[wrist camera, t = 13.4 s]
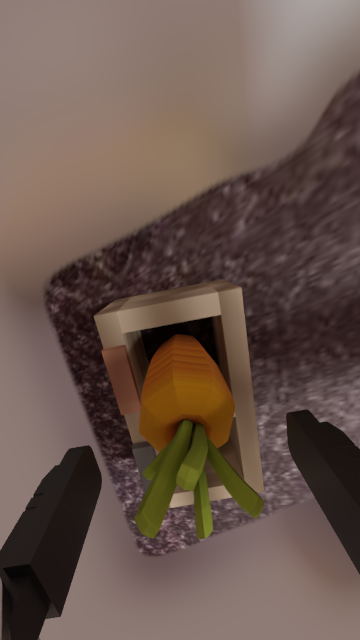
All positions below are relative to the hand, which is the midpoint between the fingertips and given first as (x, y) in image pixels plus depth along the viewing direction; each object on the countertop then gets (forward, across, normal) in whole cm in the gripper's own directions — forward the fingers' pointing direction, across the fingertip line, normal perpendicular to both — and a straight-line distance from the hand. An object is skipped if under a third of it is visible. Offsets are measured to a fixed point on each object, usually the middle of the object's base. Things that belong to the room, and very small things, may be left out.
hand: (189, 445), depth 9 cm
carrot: (+12, 0, 0) cm, 12 cm away
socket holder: (+12, 0, +4) cm, 13 cm away
